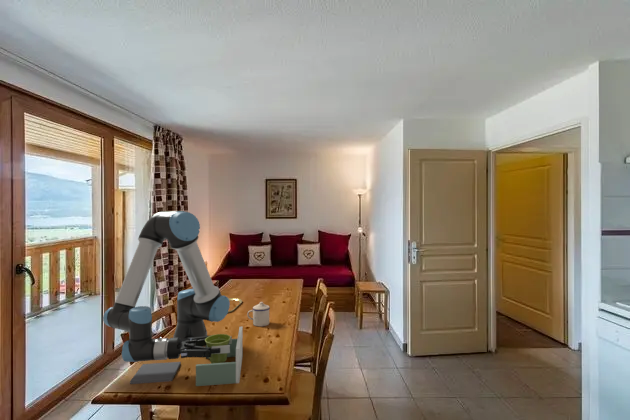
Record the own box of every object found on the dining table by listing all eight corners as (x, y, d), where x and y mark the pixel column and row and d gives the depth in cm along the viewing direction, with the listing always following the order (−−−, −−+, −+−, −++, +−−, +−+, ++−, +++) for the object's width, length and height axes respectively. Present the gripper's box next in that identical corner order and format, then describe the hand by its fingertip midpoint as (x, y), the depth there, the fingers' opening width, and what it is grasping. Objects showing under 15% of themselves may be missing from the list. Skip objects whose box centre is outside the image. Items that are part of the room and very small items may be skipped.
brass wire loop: (245, 300, 240) (245, 298, 240) (229, 316, 205) (229, 313, 205) (218, 300, 241) (218, 297, 241) (198, 315, 206) (198, 312, 206)
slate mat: (129, 384, 123) (129, 381, 123) (142, 366, 137) (142, 364, 137) (172, 381, 125) (172, 378, 125) (180, 364, 139) (180, 361, 139)
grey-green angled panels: (195, 386, 122) (195, 351, 122) (206, 357, 146) (206, 328, 146) (239, 383, 124) (239, 348, 124) (242, 355, 148) (242, 326, 148)
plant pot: (224, 367, 130) (223, 343, 129) (200, 365, 131) (200, 342, 131) (234, 356, 139) (234, 334, 139) (212, 354, 141) (212, 333, 140)
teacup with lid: (270, 321, 193) (270, 300, 193) (268, 326, 184) (268, 304, 184) (249, 321, 194) (249, 300, 194) (245, 326, 185) (245, 304, 185)
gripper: (160, 349, 122) (228, 345, 125) (175, 328, 142) (232, 325, 146) (161, 371, 122) (228, 366, 125) (175, 347, 143) (232, 343, 146)
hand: (230, 344), depth 136 cm, fingers closed on plant pot, 8 cm apart
